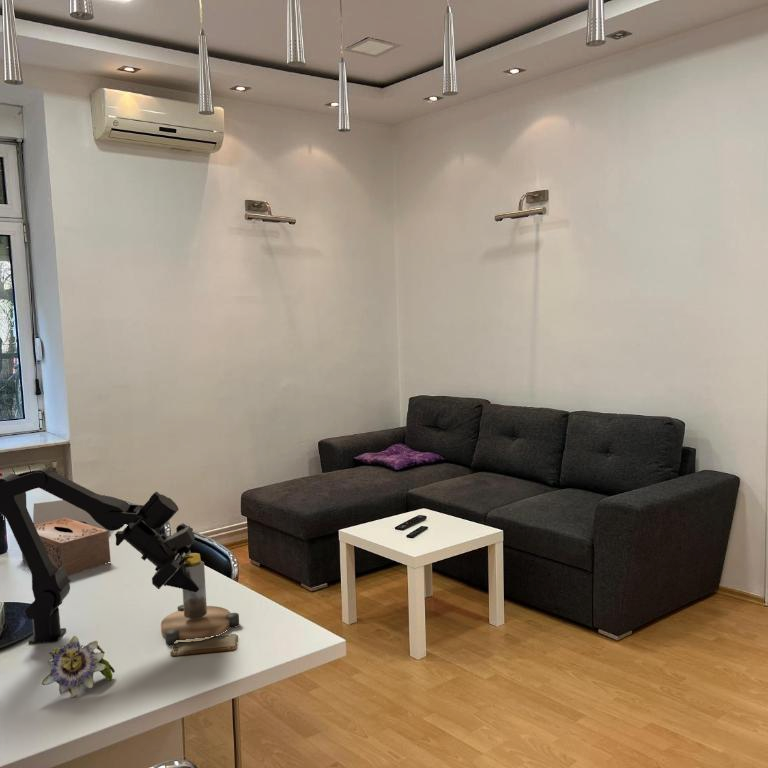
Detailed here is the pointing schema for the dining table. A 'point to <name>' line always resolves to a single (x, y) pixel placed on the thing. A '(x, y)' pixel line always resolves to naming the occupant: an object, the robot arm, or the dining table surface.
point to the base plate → (197, 624)
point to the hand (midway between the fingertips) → (199, 586)
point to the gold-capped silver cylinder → (197, 600)
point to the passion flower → (77, 666)
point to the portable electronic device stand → (61, 513)
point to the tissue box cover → (74, 544)
